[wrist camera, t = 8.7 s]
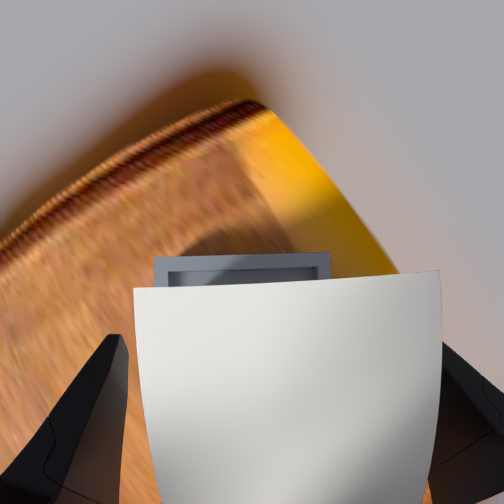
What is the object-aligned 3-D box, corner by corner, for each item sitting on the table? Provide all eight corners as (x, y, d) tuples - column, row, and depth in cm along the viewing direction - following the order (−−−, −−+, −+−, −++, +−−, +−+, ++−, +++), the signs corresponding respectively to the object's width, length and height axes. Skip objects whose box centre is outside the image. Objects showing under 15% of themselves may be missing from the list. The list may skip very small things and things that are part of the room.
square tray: (313, 396, 21) (334, 416, 17) (174, 405, 20) (165, 429, 16) (308, 260, 23) (329, 252, 18) (166, 265, 21) (153, 257, 17)
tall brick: (300, 386, 18) (421, 504, 5) (200, 394, 17) (174, 548, 4) (296, 289, 19) (439, 270, 6) (193, 294, 18) (133, 288, 5)
